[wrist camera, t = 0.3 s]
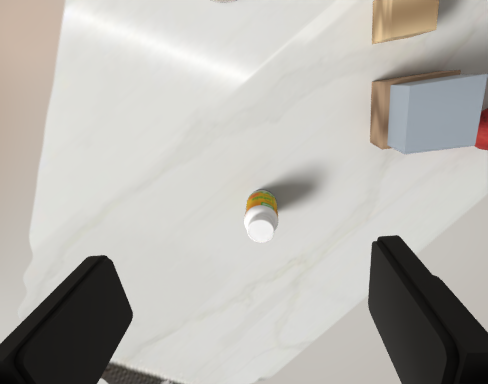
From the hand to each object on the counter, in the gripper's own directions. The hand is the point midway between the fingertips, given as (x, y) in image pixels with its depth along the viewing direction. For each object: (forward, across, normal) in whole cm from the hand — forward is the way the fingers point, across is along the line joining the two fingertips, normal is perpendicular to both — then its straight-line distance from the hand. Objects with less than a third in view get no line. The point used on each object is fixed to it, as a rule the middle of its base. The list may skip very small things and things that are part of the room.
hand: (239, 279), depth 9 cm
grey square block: (+31, -22, 0) cm, 38 cm away
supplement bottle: (+36, +1, +14) cm, 38 cm away
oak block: (+36, -19, -12) cm, 42 cm away
